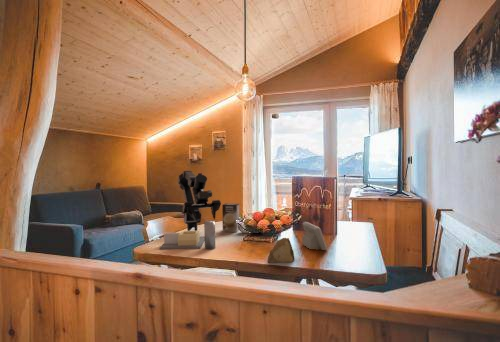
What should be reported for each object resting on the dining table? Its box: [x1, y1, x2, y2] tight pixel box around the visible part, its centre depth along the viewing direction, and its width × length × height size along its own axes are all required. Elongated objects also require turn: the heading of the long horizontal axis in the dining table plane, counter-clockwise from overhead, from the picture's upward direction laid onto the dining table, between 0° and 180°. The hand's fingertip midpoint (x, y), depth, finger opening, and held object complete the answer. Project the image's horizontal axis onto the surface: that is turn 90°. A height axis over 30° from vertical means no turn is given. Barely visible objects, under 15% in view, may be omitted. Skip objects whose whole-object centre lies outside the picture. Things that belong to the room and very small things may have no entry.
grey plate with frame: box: [159, 228, 205, 250], centre depth 142 cm, size 19×19×6 cm
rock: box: [267, 237, 296, 263], centre depth 114 cm, size 11×9×10 cm
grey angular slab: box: [302, 221, 328, 251], centre depth 133 cm, size 16×9×11 cm, turn 2°
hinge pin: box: [203, 220, 216, 250], centre depth 133 cm, size 5×5×12 cm
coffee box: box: [221, 202, 240, 233], centre depth 168 cm, size 9×6×16 cm
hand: (205, 219), depth 139 cm, fingers open, 9 cm apart
